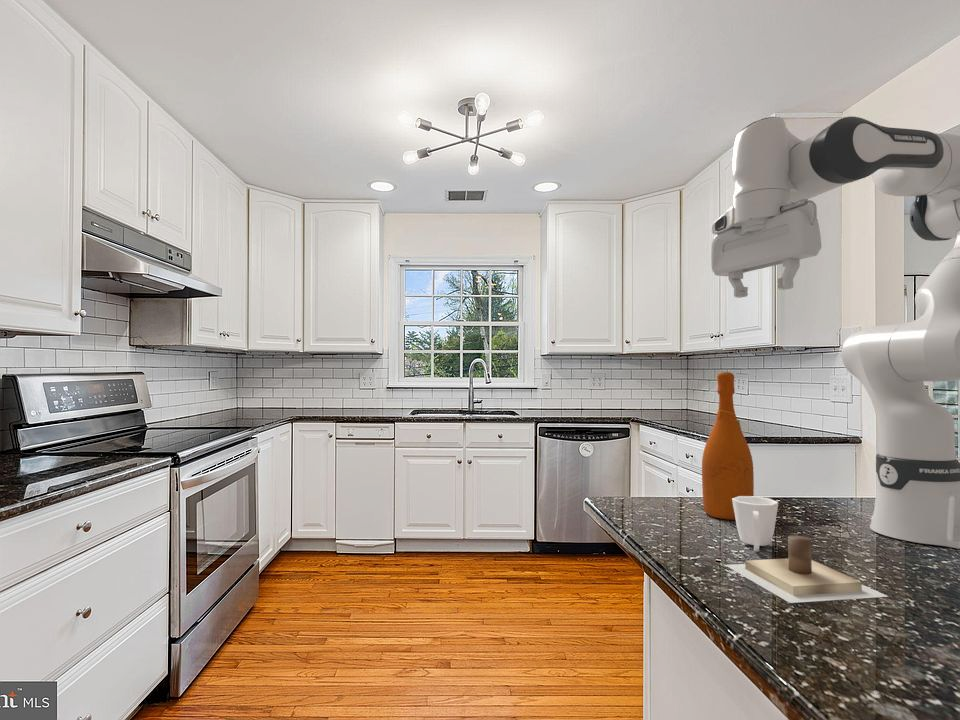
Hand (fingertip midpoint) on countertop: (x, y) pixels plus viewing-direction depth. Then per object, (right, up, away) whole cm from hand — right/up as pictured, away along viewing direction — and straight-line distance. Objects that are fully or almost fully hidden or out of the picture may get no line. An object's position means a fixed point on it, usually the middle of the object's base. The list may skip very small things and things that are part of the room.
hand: (762, 293), depth 94 cm
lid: (-4, -42, -18) cm, 46 cm away
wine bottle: (+3, -44, +20) cm, 49 cm away
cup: (-3, -44, -3) cm, 44 cm away
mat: (-4, -43, -18) cm, 46 cm away
